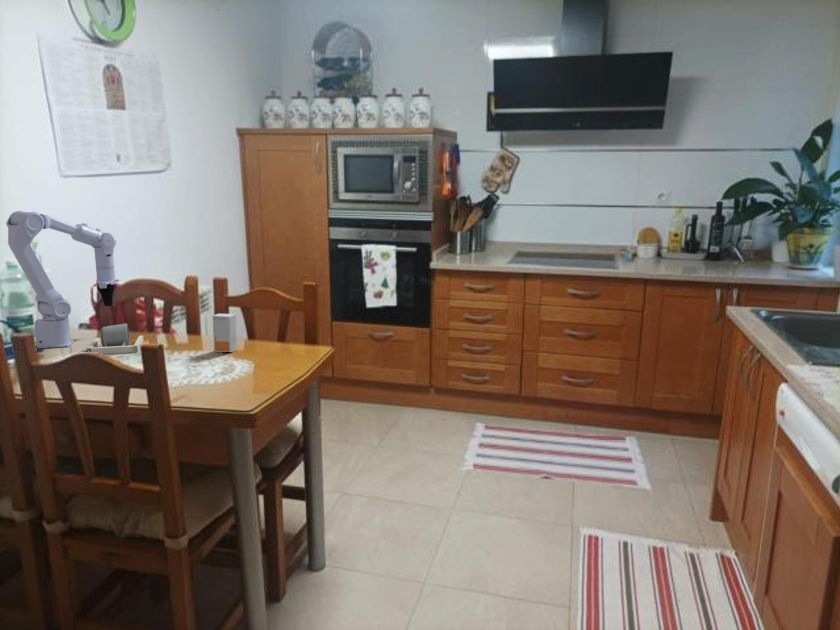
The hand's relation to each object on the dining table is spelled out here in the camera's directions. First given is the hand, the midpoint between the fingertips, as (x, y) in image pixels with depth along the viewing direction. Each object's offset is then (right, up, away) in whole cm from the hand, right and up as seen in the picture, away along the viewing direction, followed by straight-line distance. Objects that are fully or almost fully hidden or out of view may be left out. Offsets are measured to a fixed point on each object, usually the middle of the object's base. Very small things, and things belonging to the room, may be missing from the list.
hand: (108, 305), depth 221 cm
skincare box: (+47, -15, -19) cm, 53 cm away
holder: (+10, -14, -15) cm, 23 cm away
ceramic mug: (+11, -14, -16) cm, 24 cm away
